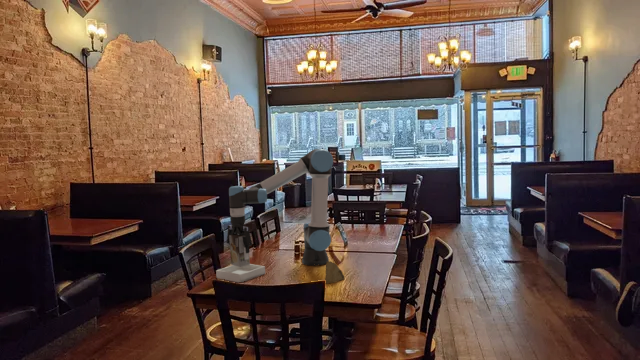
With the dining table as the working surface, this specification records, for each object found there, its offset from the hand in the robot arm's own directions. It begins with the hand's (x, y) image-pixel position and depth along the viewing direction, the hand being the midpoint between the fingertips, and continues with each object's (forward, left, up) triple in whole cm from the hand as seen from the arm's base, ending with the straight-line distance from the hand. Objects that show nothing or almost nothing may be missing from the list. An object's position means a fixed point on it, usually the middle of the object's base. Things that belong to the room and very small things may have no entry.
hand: (239, 257), depth 249 cm
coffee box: (0, 0, -4) cm, 4 cm away
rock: (-49, -16, -10) cm, 53 cm away
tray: (0, 0, -10) cm, 10 cm away
